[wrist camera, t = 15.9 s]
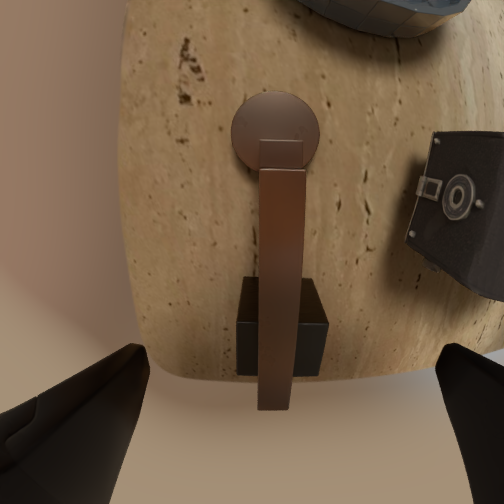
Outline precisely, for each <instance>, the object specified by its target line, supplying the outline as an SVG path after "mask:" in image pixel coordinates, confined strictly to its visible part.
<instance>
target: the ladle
mask: <svg viewBox="0 0 504 504" xmlns="http://www.w3.org/2000/svg"><path fill="white" fill-rule="evenodd" d="M319 136H320V132H319V125H318V121H317V119H316V116H315V115H314V113H313V111H312V110H311V108H310V107H309V106H308V105H307V104H306V103H305V102H304V101H303V100H301V99H300V98H298V97H296V96H294V95H292V94H289V93H286V92H281V91H268V92H263V93H259V94H257V95H255V96H253V97H251V98H249V99H248V100H247V101H245V102H244V103H243V104H242V105H241V106H240V108H239V109H238V110H237V112H236V114H235V116H234V118H233V121H232V126H231V139H232V144H233V147H234V149H235V151H236V153H237V155H238V156H239V158H240V159H241V160H242V161H243V162H244V163H245V164H246V165H247V166H248V167H250V168H251V169H253V170H255V171H257V172H259V325H258V407H257V408H258V410H288V409H289V401H290V393H291V386H292V377H293V368H294V359H295V350H296V340H297V329H298V318H299V306H300V294H301V280H302V265H303V247H304V227H305V200H306V170H305V169H302V168H303V167H304V166H305V165H306V164H307V163H308V162H309V161H310V160H311V158H312V157H313V156H314V154H315V152H316V150H317V147H318V143H319Z"/></svg>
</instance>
